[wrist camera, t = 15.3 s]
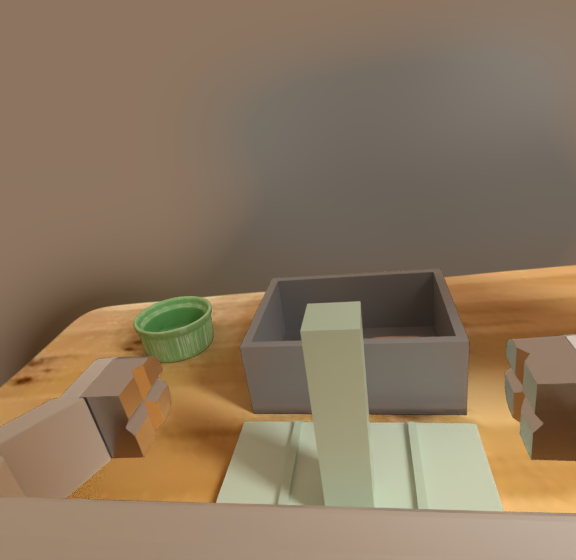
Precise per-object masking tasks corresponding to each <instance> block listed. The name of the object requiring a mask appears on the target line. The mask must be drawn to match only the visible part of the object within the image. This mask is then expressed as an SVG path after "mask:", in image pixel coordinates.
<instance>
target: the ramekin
mask: <svg viewBox="0 0 576 560" xmlns="http://www.w3.org/2000/svg"><path fill="white" fill-rule="evenodd" d="M211 312H212V307H211V304H210V302H209V301H208V300H206V299H204V298H202V297H196V296H183V297H176V298H171V299H167V300H164V301H161V302H158V303H156V304H154V305H152V306H150V307H148V308H146V309H145V310H143V311H142V312H141V313H140V314H138V315H137V317H136V318H135V320H134V328H135V330H136V332H137V333H138V334H139V336H140V338H141V341H142V343H143V346H144V348H145V351H146V353H147V355H148V356H154V357H155V358H157V359H158V360H159V362H167V363H169V362H178V361H183V360H186V359H189V358H192V357H194V356H196V355H198V354H200V353H201V352H203V351H204V350H205V349H206V348H207V347H208V346H209V345H210V344H211V342H212V340H213V326H212V318H211Z"/></svg>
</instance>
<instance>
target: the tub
mask: <svg viewBox="0 0 576 560" xmlns="http://www.w3.org/2000/svg"><path fill="white" fill-rule="evenodd" d="M356 301H360V303H361V316H362V329H363V342H364V356H365V369H366V382H367V395H368V408H369V414H421V415H467V391H468V364H469V339H468V337H467V334H466V332H465V329H464V327H463V324H462V322H461V319H460V317H459V314H458V312H457V309H456V307H455V304H454V302H453V299H452V296H451V294H450V291H449V289H448V286H447V284H446V281H445V279H444V276H443V274H442V271H441V269H422V270H406V271H388V272H372V273H355V274H338V275H321V276H305V277H288V278H273V279H272V280H271V282H270V284H269V287H268V289H267V291H266V293H265V295H264V297H263V299H262V301H261V303H260V306H259V308H258V310H257V312H256V314H255V316H254V318H253V320H252V323H251V325H250V327H249V329H248V331H247V333H246V335H245V337H244V340H243V342H242V344H241V346H240V351H241V356H242V360H243V365H244V370H245V375H246V379H247V384H248V389H249V394H250V398H251V403H252V408H253V412H254V413H258V414H312V410H311V403H310V396H309V389H308V382H307V375H306V368H305V361H304V354H303V347H302V340H301V333H300V330H301V326H302V322H303V318H304V314H305V311H306V307H307V304H313V303H334V302H356Z"/></svg>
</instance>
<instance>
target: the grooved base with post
mask: <svg viewBox="0 0 576 560" xmlns="http://www.w3.org/2000/svg"><path fill="white" fill-rule="evenodd" d="M300 333H301V340H302V347H303V354H304V361H305V368H306V375H307V382H308V389H309V396H310V403H311V410H312V417H313V422H302V421H295V422H273V421H245V422H244V424H243V427H242V430H241V433H240V436H239V439H238V441H237V444H236V447H235V450H234V453H233V456H232V458H231V461H230V464H229V467H228V470H227V473H226V475H225V478H224V481H223V484H222V487H221V490H220V492H219V495H218V498H217V501H216V503H239V504H274V505H310V506H344V507H376V508H409V509H441V510H473V511H504V509H503V506H502V503H501V500H500V497H499V494H498V491H497V488H496V484H495V481H494V478H493V475H492V472H491V469H490V466H489V463H488V460H487V457H486V454H485V450H484V447H483V444H482V441H481V438H480V435H479V432H478V429H477V426H476V423H416V422H408V423H379V422H370V421H369V408H368V395H367V382H366V369H365V356H364V342H363V329H362V316H361V303H360V301H356V302H334V303H313V304H307V307H306V311H305V314H304V318H303V322H302V326H301V330H300Z"/></svg>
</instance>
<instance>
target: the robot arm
mask: <svg viewBox="0 0 576 560" xmlns="http://www.w3.org/2000/svg"><path fill="white" fill-rule="evenodd" d="M506 357H507V359H508V361H509V363H510V366H511V367H510V368H509V369H508V370H507V372H506V373H505V392H506V399H507V403H508V406H509V410H510V412H511V414H512V417H513V418H514V419H516V420H517V421H519V422H520V436H521V438H522V440H523V442H524V445H525V447H526V449H527V452H528V454H529V456H530V458H531V460H558V461H576V334H570V335H561V336H548V337H533V338H518V339H508V342H507V345H506ZM161 373H162V367H161V365H160V362H159V360H158V359H157V358H155V357H154V356H139V357H108V358H100V359H96V360H95V361H94V362H93V363H92V364H91V365H90V366H89V367H88V368H87V369H86V370H85V371H84V372H83V373H82V375H81V376H80V377H79V378H78V379H77V380H76V381H75V382H74V383H73V384H72V385H71V386H70V387H69V388H68V389H67V390H66V391H65V392H64V393H63V394H62V396H61V397H60V398H54V399H52V400H50V401H48V402H46V403H44V404H42V405H40V406H38V407H36V408H35V409H33V410H31V411H29V412H27V413H25V414H23V415H21V416H19V417H17V418H16V419H14V420H12V421H10V422H8V423H6V424H4V425H2V426H0V560H576V513H540V512H506V511H473V510H441V509H409V508H376V507H344V506H310V505H274V504H239V503H203V502H168V501H135V500H101V499H68V498H67V497H68V496H70V495H71V494H72V493H73V492H74V491H76V490H77V489H78V488H79V487H80V486H81V485H83V484H84V483H85V482H86V481H87V480H88V479H90V478H91V477H92V476H93V475H94V474H96V473H97V472H98V471H99V470H100V469H101V468H103V467H104V466H105V465H106V464H107V463H109V462H110V461H111V458H140V457H144V456H145V455H146V453H147V451H148V449H149V448H150V446H151V444H152V443H153V441H154V439H155V437H156V433H155V428H157V427H158V426H160V425H161V424H162V423H164V422H165V420H166V418H167V416H168V414H169V411H170V405H171V395H170V390H169V387H168V385H167V384H166V383H165V382H164V381H163V380H162V379H161V378H159V377H160V375H161Z"/></svg>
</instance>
